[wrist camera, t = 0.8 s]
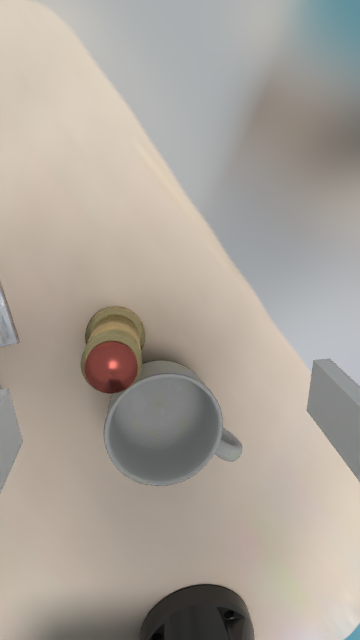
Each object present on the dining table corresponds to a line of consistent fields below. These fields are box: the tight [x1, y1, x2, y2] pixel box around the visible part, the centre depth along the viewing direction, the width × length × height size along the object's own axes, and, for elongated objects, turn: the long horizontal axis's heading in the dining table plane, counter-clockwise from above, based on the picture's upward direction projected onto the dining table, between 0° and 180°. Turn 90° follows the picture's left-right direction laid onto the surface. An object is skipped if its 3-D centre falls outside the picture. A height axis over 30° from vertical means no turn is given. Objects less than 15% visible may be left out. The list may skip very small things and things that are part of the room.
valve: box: [81, 307, 145, 393], centre depth 31 cm, size 6×6×10 cm
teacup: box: [104, 361, 242, 486], centre depth 34 cm, size 14×11×8 cm
